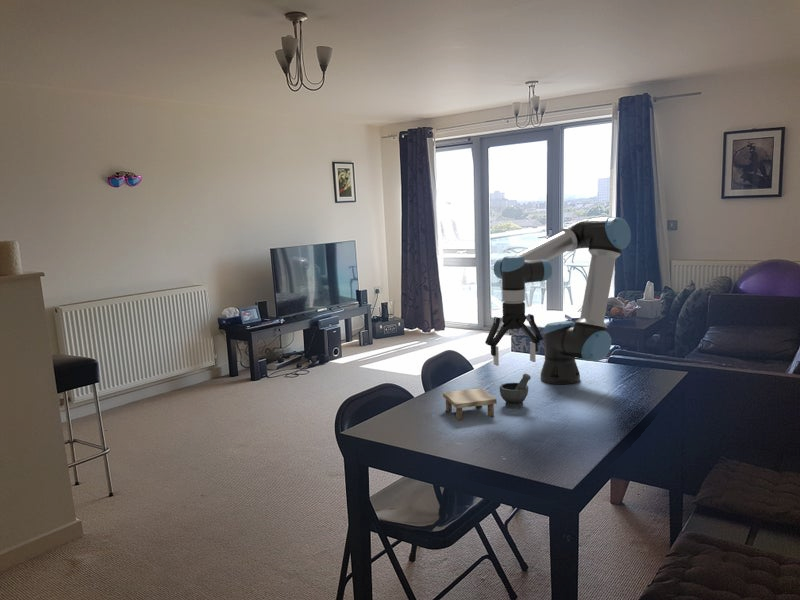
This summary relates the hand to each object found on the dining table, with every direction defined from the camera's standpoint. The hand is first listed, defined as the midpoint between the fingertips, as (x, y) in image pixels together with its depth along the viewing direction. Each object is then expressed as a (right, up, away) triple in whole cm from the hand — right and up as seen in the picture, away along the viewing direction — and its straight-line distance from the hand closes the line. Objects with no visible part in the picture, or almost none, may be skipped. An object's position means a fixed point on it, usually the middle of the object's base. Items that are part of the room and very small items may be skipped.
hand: (514, 363), depth 205 cm
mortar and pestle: (+1, -15, +2) cm, 16 cm away
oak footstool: (-16, -17, -3) cm, 23 cm away
